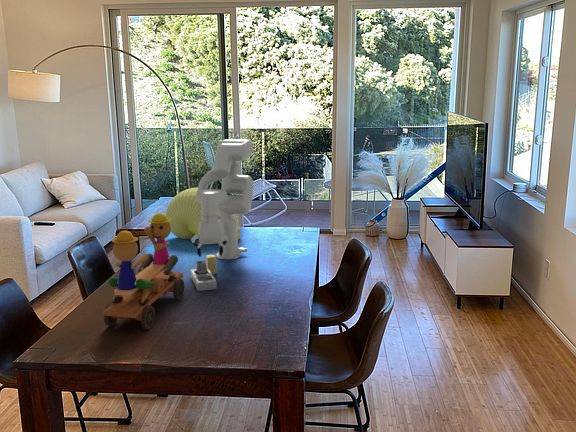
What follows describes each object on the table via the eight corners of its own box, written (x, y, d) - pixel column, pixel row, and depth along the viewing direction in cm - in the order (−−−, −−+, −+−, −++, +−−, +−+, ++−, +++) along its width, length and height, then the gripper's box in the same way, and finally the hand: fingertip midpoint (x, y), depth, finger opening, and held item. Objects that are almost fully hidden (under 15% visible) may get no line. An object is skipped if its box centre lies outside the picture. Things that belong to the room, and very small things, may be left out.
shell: (229, 260, 308) (241, 248, 338) (243, 205, 302) (254, 197, 331) (152, 237, 312) (171, 227, 341) (165, 182, 306) (182, 176, 335)
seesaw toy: (141, 337, 198) (135, 237, 190) (99, 334, 200) (91, 235, 193) (188, 292, 241) (184, 209, 233) (152, 290, 244) (148, 207, 236)
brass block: (214, 270, 269) (214, 254, 267) (216, 273, 265) (216, 256, 263) (206, 271, 268) (205, 255, 266) (207, 274, 264) (207, 257, 262)
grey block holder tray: (208, 275, 263) (208, 267, 262) (216, 288, 245) (216, 281, 244) (191, 277, 260) (190, 269, 259) (197, 290, 242) (197, 283, 242)
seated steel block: (205, 277, 259) (204, 260, 257) (206, 280, 255) (206, 263, 254) (196, 278, 258) (195, 261, 256) (197, 281, 254) (197, 264, 252)
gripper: (226, 216, 267) (227, 252, 270) (189, 218, 261) (190, 254, 264) (230, 219, 260) (230, 256, 263) (191, 221, 254) (192, 258, 257)
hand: (210, 255), depth 264 cm, fingers open, 9 cm apart
